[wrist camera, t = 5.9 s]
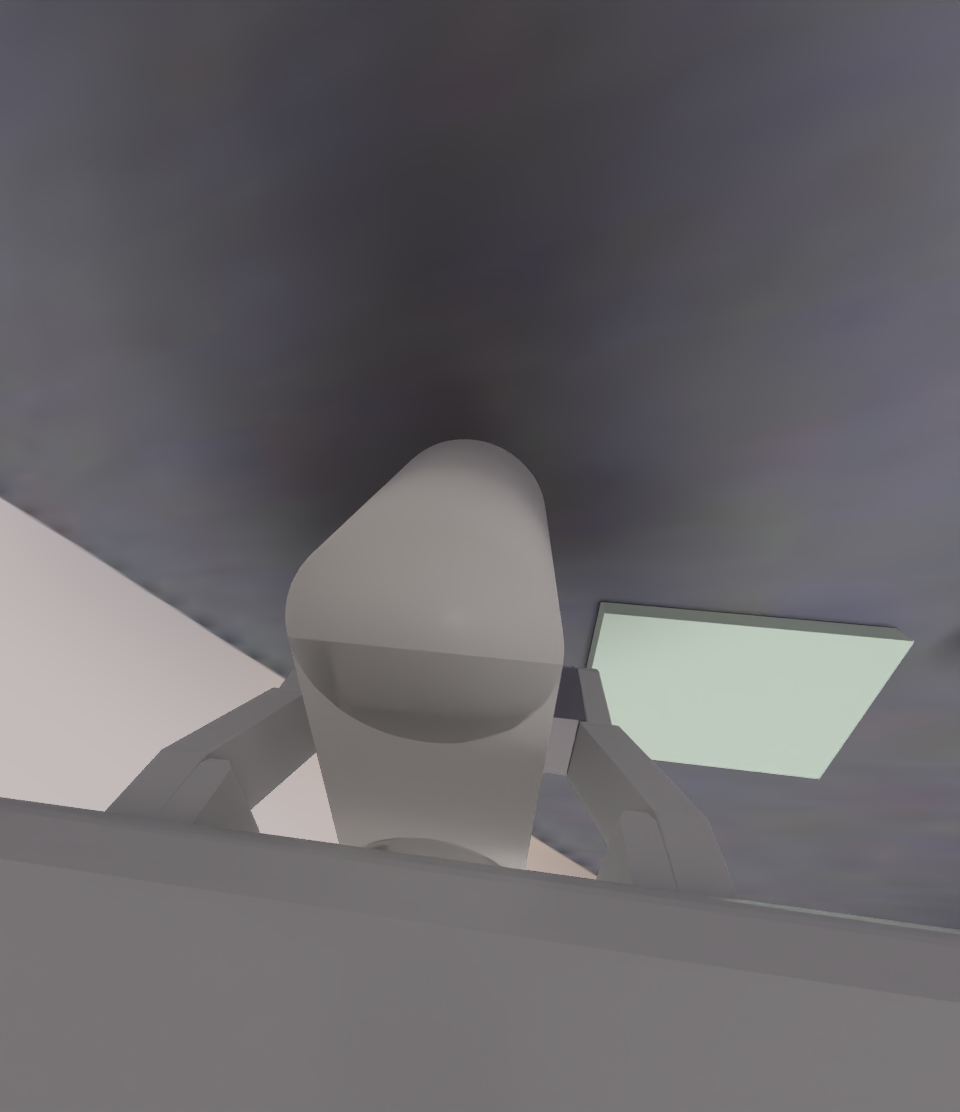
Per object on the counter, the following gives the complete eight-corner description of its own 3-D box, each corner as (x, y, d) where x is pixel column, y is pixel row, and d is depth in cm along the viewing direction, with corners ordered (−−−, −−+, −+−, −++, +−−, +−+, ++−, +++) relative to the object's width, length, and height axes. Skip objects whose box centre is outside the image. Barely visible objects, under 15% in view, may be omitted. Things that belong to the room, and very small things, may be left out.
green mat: (600, 601, 20) (604, 613, 19) (895, 627, 19) (914, 641, 18) (571, 736, 24) (573, 750, 23) (807, 763, 23) (819, 778, 22)
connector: (385, 434, 9) (255, 509, 5) (555, 444, 9) (587, 534, 4) (411, 788, 16) (367, 958, 11) (509, 801, 15) (504, 980, 11)
